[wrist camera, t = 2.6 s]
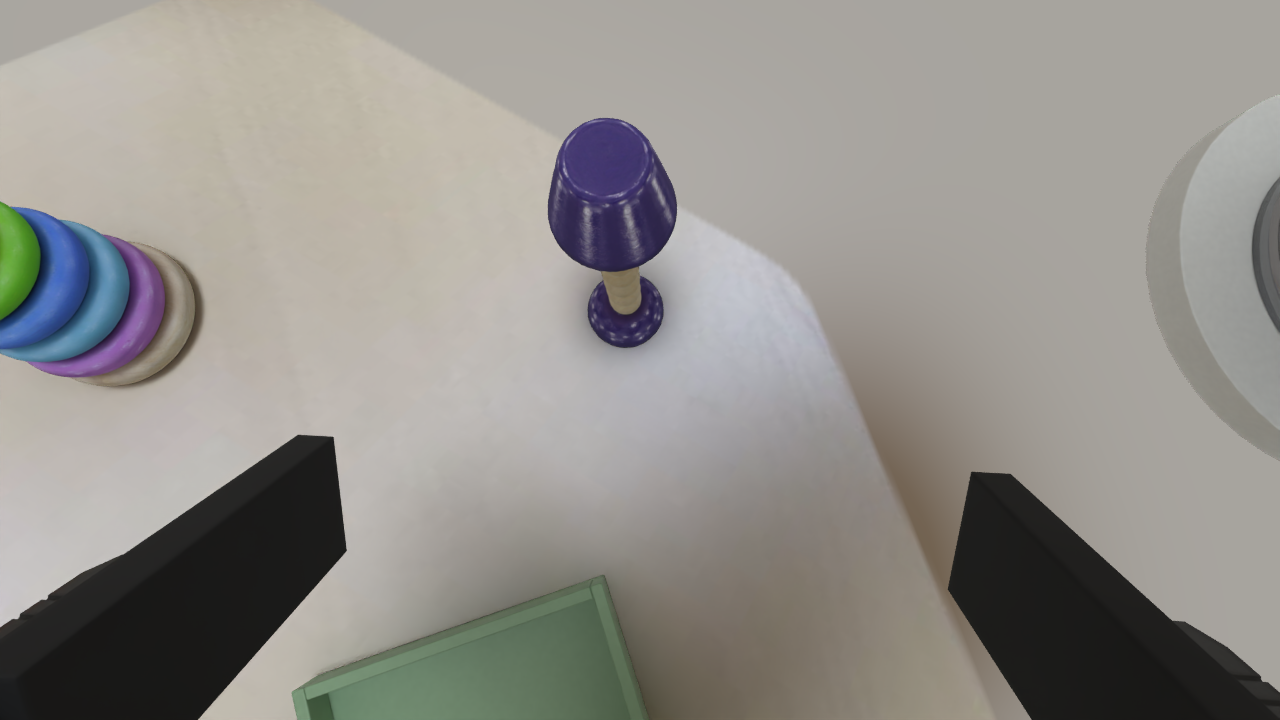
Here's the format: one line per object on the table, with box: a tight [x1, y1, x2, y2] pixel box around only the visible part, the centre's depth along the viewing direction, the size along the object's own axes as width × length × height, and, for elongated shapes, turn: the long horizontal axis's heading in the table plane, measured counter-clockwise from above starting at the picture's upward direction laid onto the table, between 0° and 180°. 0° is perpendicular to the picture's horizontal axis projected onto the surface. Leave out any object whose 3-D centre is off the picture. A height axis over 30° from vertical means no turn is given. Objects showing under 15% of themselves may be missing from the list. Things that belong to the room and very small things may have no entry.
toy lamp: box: [548, 118, 677, 347], centre depth 27 cm, size 5×5×17 cm
